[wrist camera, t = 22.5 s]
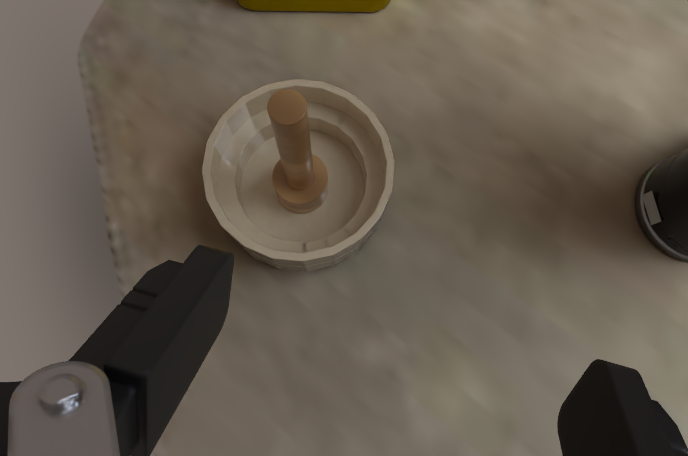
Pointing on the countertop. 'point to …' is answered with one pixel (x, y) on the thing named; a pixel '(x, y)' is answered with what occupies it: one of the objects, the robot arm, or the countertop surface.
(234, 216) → the bowl
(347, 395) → the countertop surface
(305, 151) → the wooden pestle
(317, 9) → the element tile
